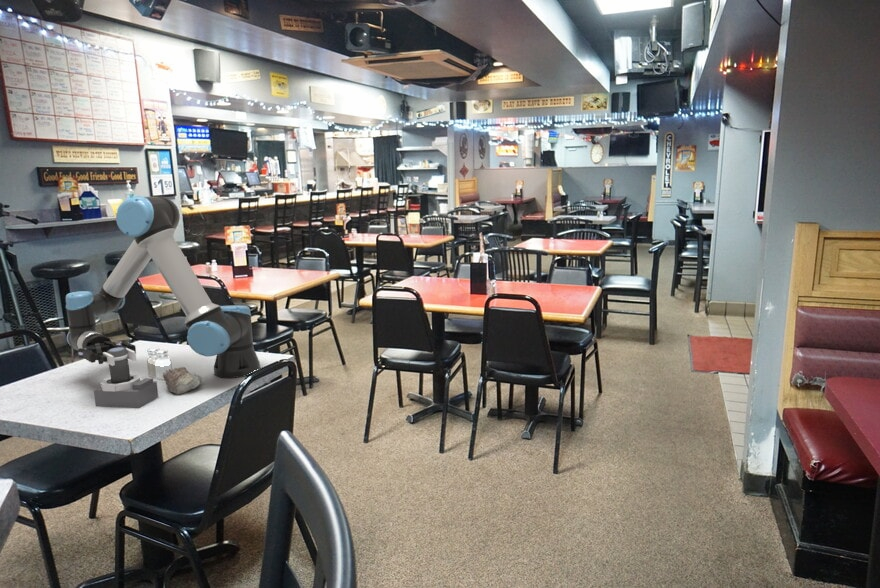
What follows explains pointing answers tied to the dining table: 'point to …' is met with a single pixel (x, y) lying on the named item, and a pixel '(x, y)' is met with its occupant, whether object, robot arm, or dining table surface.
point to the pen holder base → (126, 393)
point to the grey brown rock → (181, 380)
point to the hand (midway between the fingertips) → (123, 358)
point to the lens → (119, 365)
